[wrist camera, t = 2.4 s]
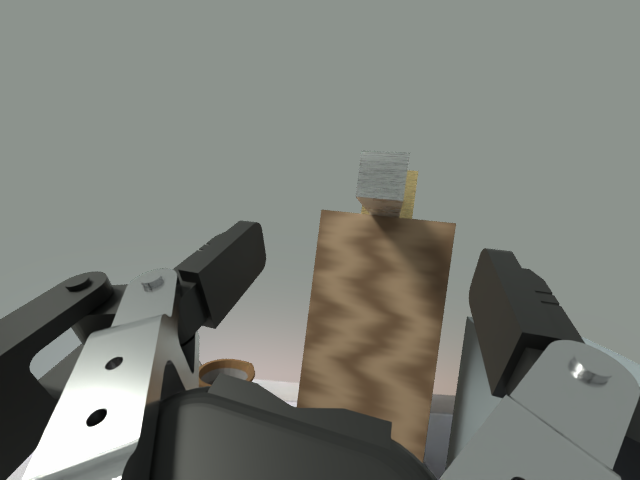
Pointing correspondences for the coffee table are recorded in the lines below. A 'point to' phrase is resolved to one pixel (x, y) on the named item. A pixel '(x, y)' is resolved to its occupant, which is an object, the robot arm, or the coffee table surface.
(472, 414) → the blue gray block
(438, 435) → the coffee table surface
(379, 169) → the wood and metal block
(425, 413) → the tall stand
